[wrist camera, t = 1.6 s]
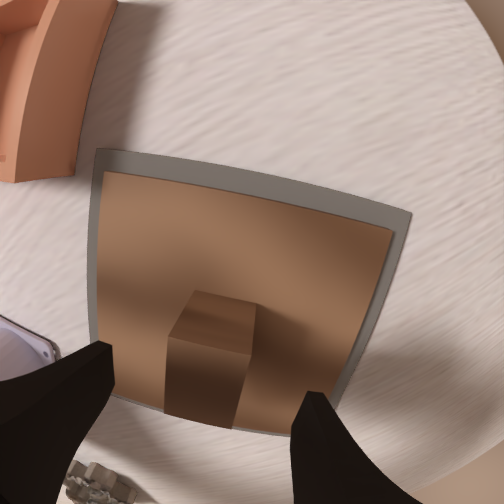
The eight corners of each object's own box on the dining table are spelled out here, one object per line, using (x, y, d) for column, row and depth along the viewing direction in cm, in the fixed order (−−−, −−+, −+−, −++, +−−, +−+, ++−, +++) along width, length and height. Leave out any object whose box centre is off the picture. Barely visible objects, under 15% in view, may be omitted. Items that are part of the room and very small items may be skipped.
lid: (307, 429, 16) (313, 487, 12) (107, 384, 16) (76, 431, 12) (388, 228, 13) (438, 258, 8) (110, 170, 12) (48, 176, 8)
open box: (74, 175, 13) (14, 183, 9) (-22, 164, 13) (-69, 171, 9) (118, 1, 10) (77, -35, 6) (9, 30, 10) (-33, 16, 6)
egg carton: (84, 486, 24) (73, 508, 20) (46, 450, 22) (32, 472, 18) (149, 498, 22) (139, 526, 18) (108, 461, 20) (93, 491, 16)
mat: (316, 435, 17) (317, 439, 16) (98, 385, 17) (96, 389, 16) (407, 211, 13) (411, 212, 12) (100, 148, 13) (96, 148, 12)
